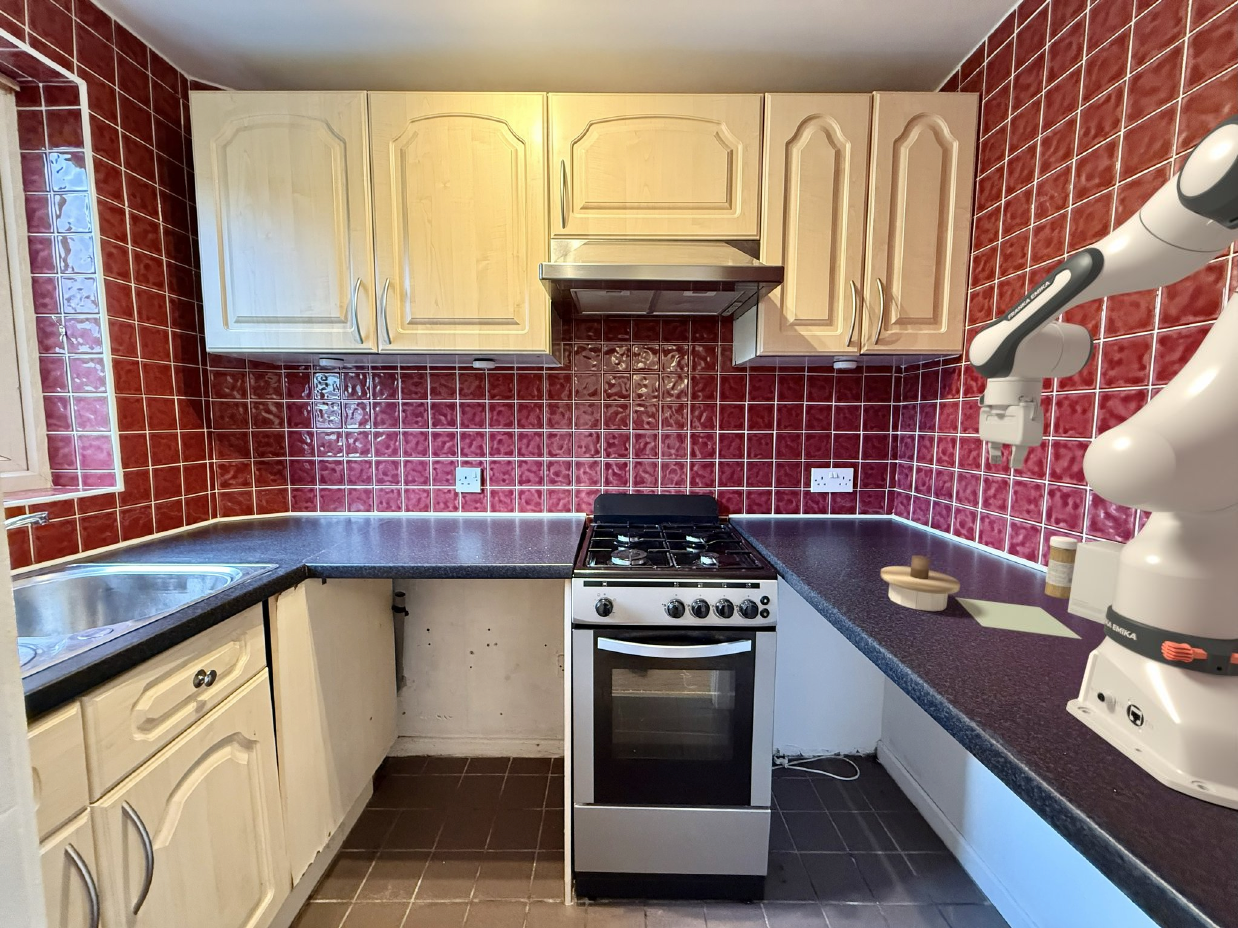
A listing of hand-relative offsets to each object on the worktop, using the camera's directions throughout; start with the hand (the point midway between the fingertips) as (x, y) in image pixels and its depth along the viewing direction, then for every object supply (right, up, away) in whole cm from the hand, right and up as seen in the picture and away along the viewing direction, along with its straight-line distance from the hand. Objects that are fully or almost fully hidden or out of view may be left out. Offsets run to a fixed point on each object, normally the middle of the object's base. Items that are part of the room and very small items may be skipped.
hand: (1004, 466), depth 103 cm
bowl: (-17, -29, +2) cm, 33 cm away
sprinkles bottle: (+17, -29, +8) cm, 35 cm away
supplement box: (+17, -31, -4) cm, 35 cm away
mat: (-2, -30, -5) cm, 30 cm away
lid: (-17, -24, +1) cm, 29 cm away
